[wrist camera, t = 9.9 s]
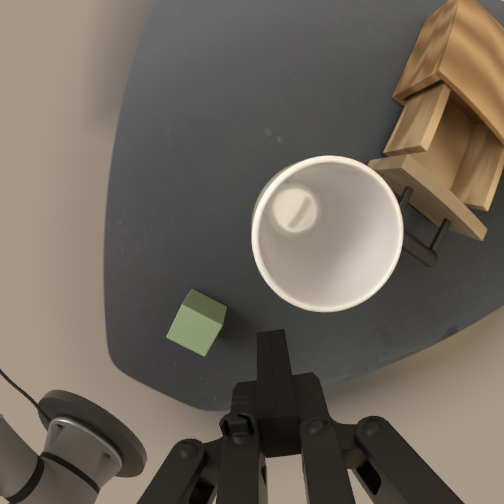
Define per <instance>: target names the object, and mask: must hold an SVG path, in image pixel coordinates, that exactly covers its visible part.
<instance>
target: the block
mask: <svg viewBox="0 0 504 504" xmlns="http://www.w3.org/2000/svg"><path fill="white" fill-rule="evenodd" d="M226 310H227V306H225V305H223V304H221V303H219V302H217V301H215V300H213V299H211V298H209V297H207V296H205V295H203V294H202V293H200V292H198V291H196V290H194V289H191V290H190V292H189V293H188V295H187V297H186V298H185V300H184V302H183V303H182V305H181V307H180V309H179V311H178V313H177V316H176V318H175V320H174V322H173V324H172V326H171V328H170V330H169V333H168V335H167V338H168V339H170V340H172V341H174V342H176V343H178V344H180V345H182V346H184V347H186V348H188V349H190V350H192V351H194V352H196V353H198V354H200V355H202V356H205V355H206V354H207V352H208V350H209V348H210V347H211V345H212V343H213V342H214V340H215V338H216V336H217V335H218V333H219V331H220V329H221V328H222V326H223V323H224V318H225V314H226Z"/></svg>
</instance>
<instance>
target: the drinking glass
mask: <svg viewBox="0 0 504 504" xmlns="http://www.w3.org/2000/svg"><path fill="white" fill-rule="evenodd" d="M251 241H252V249H253V254H254V258H255V261H256V264H257V266H258V269H259V271H260V273H261V275H262V277H263V278H264V280H265V281H266V283H267V284H268V285H269V286H270V288H271V289H272V290H273V291H274V292H275V293H276V294H278V295H279V296H280V297H281V298H283V299H284V300H286V301H287V302H289V303H291V304H293V305H295V306H297V307H299V308H302V309H306V310H309V311H315V312H335V311H340V310H345V309H348V308H351V307H353V306H356V305H358V304H360V303H362V302H364V301H365V300H367V299H368V298H370V297H371V296H372V295H374V294H375V293H376V292H377V291H378V290H379V289H380V288H381V287H382V286H383V285H384V284H385V282H386V281H387V280H388V278H389V277H390V275H391V274H392V272H393V270H394V268H395V266H396V264H397V262H398V259H399V256H400V253H401V249H402V244H403V220H402V214H401V210H400V207H399V204H398V201H397V199H396V197H395V195H394V193H393V192H392V190H391V188H390V187H389V186H388V184H387V183H386V182H385V181H384V179H383V178H382V177H381V176H380V175H379V174H377V173H376V172H375V171H374V170H372V169H371V168H370V167H368V166H366V165H364V164H363V163H361V162H358V161H356V160H353V159H350V158H346V157H341V156H319V157H314V158H309V159H305V160H301V161H299V162H296V163H293V164H291V165H289V166H287V167H285V168H284V169H282V170H280V171H279V172H278V173H276V174H275V175H274V176H273V177H272V178H271V179H270V180H269V181H268V182H267V183H266V184H265V186H264V187H263V189H262V190H261V192H260V194H259V195H258V197H257V200H256V202H255V205H254V208H253V213H252V218H251Z"/></svg>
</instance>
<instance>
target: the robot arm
mask: <svg viewBox="0 0 504 504" xmlns="http://www.w3.org/2000/svg"><path fill="white" fill-rule="evenodd" d="M0 374H1V375H2V376H3V377H4V378H5V379H6V380H7V381H8V382H9V383H10V384H11V385H12V386H13V387H15V388H16V389H17V390H18V391H19V392H21V393H22V394H23V395H24V396H25V397H27V398H28V399H29V400H30V401H31V402H32V403H33V404H34V405H35V407H36V408H37V409H38V411H39V412H40V413H41V414H42V415H43V416H44V418H45V419H46V420H47V421H48V422H49V423H50V424H49V428H48V432H47V437H46V442H45V447H44V450H43V452H42V453H41V455H40V456H38V455H37V454H36V453H35V452H34V451H33V450H32V449H31V448H30V447H29V446H28V445H27V444H26V443H25V442H24V441H23V440H22V438H21V437H19V435H18V434H17V433H16V432H15V431H14V430H13V429H12V428H11V426H10V425H9V424H8V423H7V422H6V421H5V419H4V418H3V415H1V414H0V496H3V497H4V498H5V499H6V500H8V501H9V502H10V503H8V504H94V503H95V501H96V498H97V496H98V494H99V491H100V489H101V487H102V486H104V484H106V483H107V482H108V481H109V480H110V479H111V478H112V477H113V476H115V475H116V474H117V473H118V472H119V471H120V470H121V467H122V465H123V462H124V458H123V455H122V453H121V451H120V450H119V449H118V448H117V446H116V445H115V444H114V443H113V442H112V441H111V440H110V439H109V438H107V437H106V436H105V435H104V434H103V433H101V432H100V431H98V430H97V429H96V428H94V427H93V426H91V425H89V424H88V423H86V422H84V421H82V420H80V419H78V418H75V417H73V416H70V415H65V414H58V415H56V416H55V417H54V418H53V419H52V420H51V419H50V418H49V417H48V416H47V415H46V414H45V413H44V412H43V410H42V409H41V408H40V407H39V405H38V404H37V403H36V402H35V401H34V400H33V399H32V398H31V397H30V396H29V395H28V394H27V393H26V392H24V391H23V390H22V389H21V388H19V387H18V386H17V385H16V384H15V383H13V382H12V381H11V380H10V379H9V378H8V377H7V376H6V375H5V374H4V373H3V372H2V371H1V369H0ZM219 425H220V428H221V431H222V434H223V437H221V438H220V439H217V440H215V441H211V442H207V443H202V442H201V441H199V440H196V439H185V440H181V441H179V442H178V443H177V444H175V445H174V447H173V448H172V450H171V451H170V453H169V455H168V456H167V458H166V459H165V461H164V462H163V464H162V466H161V467H160V469H159V470H158V472H157V473H156V475H155V476H154V478H153V480H152V481H151V483H150V484H149V486H148V487H147V489H146V490H145V492H144V493H143V495H142V496H141V498H140V499H139V501H138V502H137V504H212V503H213V501H214V498H215V496H216V494H217V498H216V504H268V494H267V467H266V463H265V456H266V458H271V457H280V456H288V455H296V454H301V456H302V468H303V474H304V482H305V489H306V497H307V504H356V503H355V499H354V495H353V491H352V487H351V484H350V480H349V476H348V472H347V469H351V470H352V471H353V473H354V475H355V476H356V478H357V479H358V481H359V482H360V483H361V485H362V487H363V488H364V489H365V491H366V492H367V494H368V495H369V497H370V498H371V500H372V501H373V503H374V504H464V503H463V502H462V501H461V500H460V498H459V497H458V496H457V495H456V494H455V493H454V492H453V491H452V490H451V489H450V488H449V487H448V486H447V485H446V484H445V483H444V482H443V481H442V480H441V478H440V477H439V476H438V475H437V474H436V473H435V472H434V471H433V470H432V469H431V468H430V467H429V466H428V464H427V463H426V462H425V461H424V460H423V459H422V458H421V457H420V456H419V455H418V454H417V453H416V452H415V450H414V449H413V448H412V447H411V446H410V445H409V444H408V443H407V442H406V441H405V440H404V439H403V437H402V436H401V435H400V434H399V433H398V432H397V431H396V430H395V429H394V428H393V427H392V426H391V424H390V423H389V422H388V421H386V420H385V419H384V418H382V417H379V416H369V417H366V418H363V419H361V420H360V421H359V422H358V423H357V424H352V425H351V424H341V423H337V422H336V421H334V420H333V419H332V418H331V417H330V415H329V413H328V409H327V405H326V402H325V398H324V395H323V392H322V388H321V384H320V381H319V378H318V377H317V376H316V375H315V374H314V373H313V372H311V373H305V374H299V375H292V372H291V366H290V360H289V354H288V348H287V343H286V337H285V331H284V329H281V330H274V331H266V332H259V333H257V381H249V382H238V383H237V385H236V386H235V388H234V389H233V395H232V405H231V413H229V414H227V415H225V416H224V417H223V418H222V419H221V420H220V423H219Z"/></svg>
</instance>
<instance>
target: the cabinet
mask: <svg viewBox="0 0 504 504" xmlns="http://www.w3.org/2000/svg"><path fill="white" fill-rule="evenodd" d="M439 80H443V81H444V82H445V83H446V84H447V85H448V86H449V87H450V88H451V89H452V90H454V91H455V92H456V93H457V94H458V95H459V96H460V97H461V98H462V99H463V100H464V101H465V102H466V103H467V104H468V105H469V106H470V107H471V108H472V109H473V110H474V112H475V113H476V114H477V115H478V116H479V117H480V118H481V119H482V120H483V121H484V123H485V124H486V125H487V126H488V127H489V128H490V129H491V131H492V132H493V133H494V134H495V135H496V137H497V138H498V139H499V140H500V142H501V143H502V144H503V145H504V28H503V27H502V26H501V25H500V24H499V23H498V22H497V21H496V20H495V19H494V18H493V17H492V16H491V15H490V14H489V13H488V12H487V11H486V10H485V9H484V8H483V7H482V6H481V5H480V4H479V3H478V2H477V1H476V0H449V1H447V2H446V3H445V4H444V5H442V6H441V7H440V8H439V9H438V10H436V11H435V12H434V13H433V14H432V15H431V16H429V17H428V18H427V19H426V20H425V22H424V24H423V27H422V29H421V32H420V34H419V37H418V39H417V41H416V44H415V46H414V48H413V51H412V53H411V55H410V58H409V60H408V62H407V64H406V67H405V69H404V71H403V73H402V76H401V78H400V80H399V82H398V84H397V86H396V89H395V91H394V93H393V95H392V98H393V99H394V100H395V101H397V102H398V103H399V104H401V105H402V106H403V107H405V105H406V103H407V100H408V98H409V96H410V95H411V94H413V93H415V92H417V91H419V90H421V89H423V88H425V87H427V86H429V85H431V84H433V83H435V82H437V81H439Z"/></svg>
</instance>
